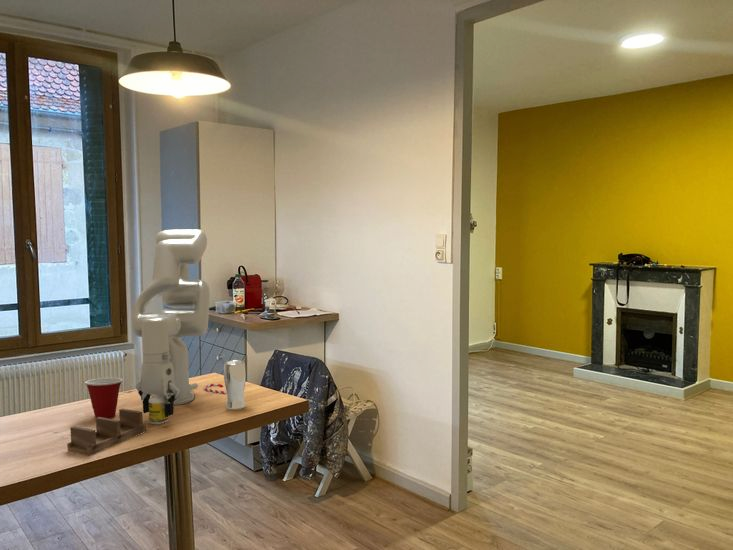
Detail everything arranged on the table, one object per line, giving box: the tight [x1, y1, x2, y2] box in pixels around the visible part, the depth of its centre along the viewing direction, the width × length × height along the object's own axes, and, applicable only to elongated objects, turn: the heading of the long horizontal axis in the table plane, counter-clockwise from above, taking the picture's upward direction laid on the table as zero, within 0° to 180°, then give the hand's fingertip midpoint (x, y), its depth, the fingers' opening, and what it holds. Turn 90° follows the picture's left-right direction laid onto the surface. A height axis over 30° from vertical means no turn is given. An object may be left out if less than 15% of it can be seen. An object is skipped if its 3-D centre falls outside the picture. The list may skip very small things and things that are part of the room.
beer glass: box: [223, 359, 247, 411], centre depth 195 cm, size 7×7×15 cm
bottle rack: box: [66, 408, 147, 457], centre depth 166 cm, size 20×8×6 cm, turn 155°
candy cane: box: [203, 383, 227, 395], centre depth 215 cm, size 8×1×15 cm
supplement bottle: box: [148, 394, 169, 425], centre depth 181 cm, size 5×5×10 cm
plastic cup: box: [84, 377, 123, 419], centre depth 186 cm, size 11×11×12 cm
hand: (158, 413), depth 182 cm, fingers open, 8 cm apart
